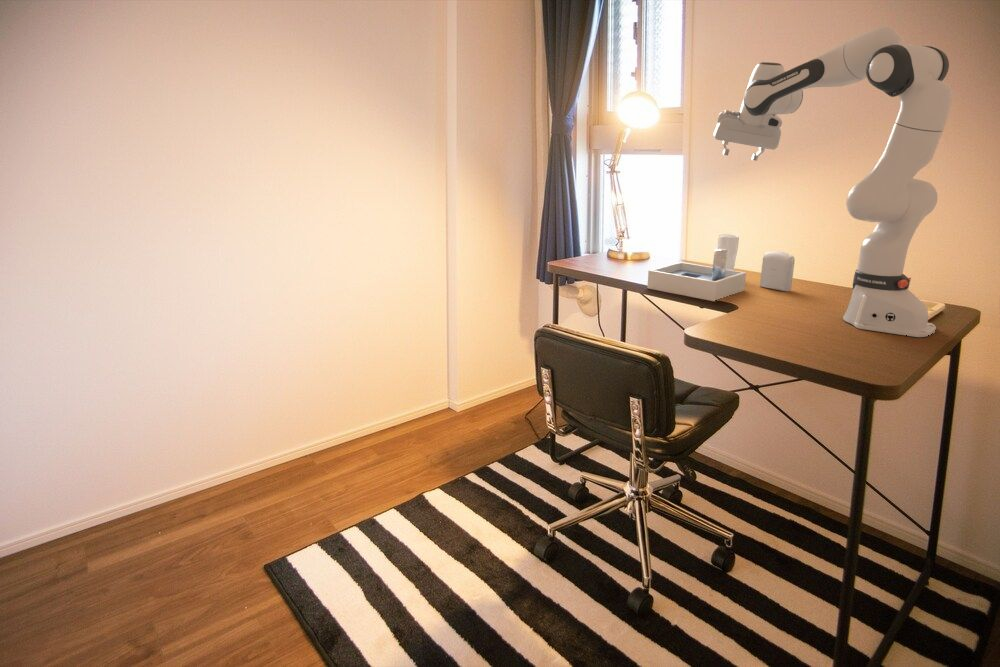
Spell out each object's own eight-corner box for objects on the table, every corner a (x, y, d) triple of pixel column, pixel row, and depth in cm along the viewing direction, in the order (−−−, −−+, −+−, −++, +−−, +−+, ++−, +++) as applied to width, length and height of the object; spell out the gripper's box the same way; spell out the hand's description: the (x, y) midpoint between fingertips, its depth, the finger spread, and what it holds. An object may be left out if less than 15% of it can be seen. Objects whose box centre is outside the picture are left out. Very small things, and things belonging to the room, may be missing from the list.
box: (744, 290, 233) (746, 272, 231) (714, 301, 219) (716, 282, 217) (678, 278, 248) (680, 261, 247) (647, 288, 235) (648, 270, 233)
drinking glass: (710, 277, 251) (714, 234, 247) (725, 275, 254) (729, 233, 249) (723, 281, 245) (728, 237, 241) (738, 279, 248) (743, 236, 243)
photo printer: (757, 286, 238) (761, 250, 234) (764, 284, 241) (768, 248, 237) (786, 292, 230) (791, 254, 227) (793, 290, 233) (798, 253, 229)
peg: (726, 280, 231) (729, 249, 228) (720, 282, 228) (723, 251, 225) (715, 278, 233) (718, 248, 230) (709, 280, 231) (712, 249, 228)
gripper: (721, 111, 223) (708, 154, 230) (787, 123, 222) (772, 166, 229) (719, 106, 228) (707, 148, 236) (783, 117, 227) (769, 159, 234)
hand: (739, 157), depth 232 cm, fingers open, 8 cm apart
